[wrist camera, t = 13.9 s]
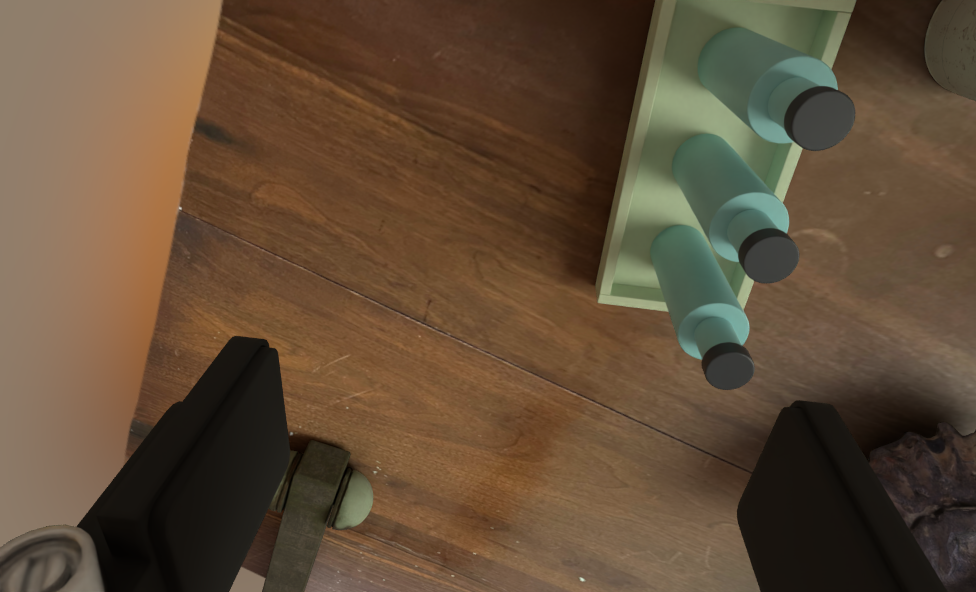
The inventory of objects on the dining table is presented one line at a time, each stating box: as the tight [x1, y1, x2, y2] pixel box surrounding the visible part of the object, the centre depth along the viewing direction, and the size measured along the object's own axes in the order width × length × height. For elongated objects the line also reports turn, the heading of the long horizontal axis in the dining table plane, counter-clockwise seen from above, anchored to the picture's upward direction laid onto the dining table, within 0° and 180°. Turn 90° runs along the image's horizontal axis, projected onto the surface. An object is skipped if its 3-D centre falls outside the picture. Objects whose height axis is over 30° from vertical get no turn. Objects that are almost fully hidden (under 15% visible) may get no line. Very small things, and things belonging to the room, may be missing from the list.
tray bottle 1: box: [698, 27, 855, 151], centre depth 31 cm, size 4×4×15 cm
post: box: [262, 440, 373, 592], centre depth 63 cm, size 11×6×30 cm
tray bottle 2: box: [672, 134, 799, 283], centre depth 35 cm, size 4×4×15 cm
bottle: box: [650, 225, 755, 390], centre depth 38 cm, size 4×4×15 cm
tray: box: [595, 0, 856, 312], centre depth 40 cm, size 22×11×3 cm, turn 175°
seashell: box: [869, 422, 976, 592], centre depth 46 cm, size 20×13×15 cm
